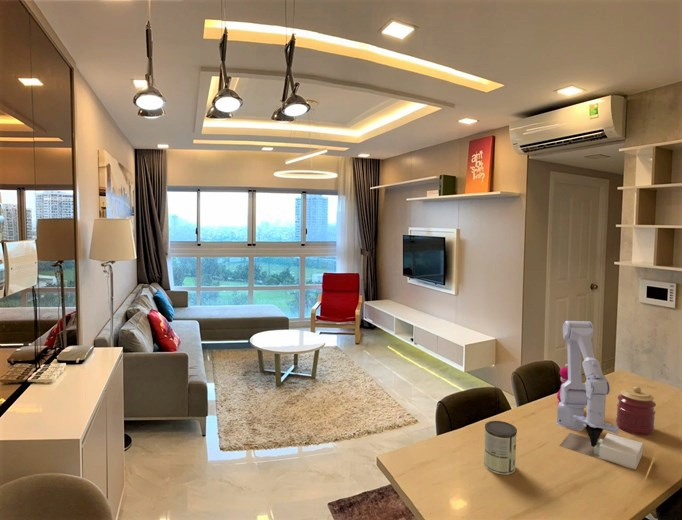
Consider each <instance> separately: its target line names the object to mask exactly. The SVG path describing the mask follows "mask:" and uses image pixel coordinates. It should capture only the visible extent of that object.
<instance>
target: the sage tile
mask: <svg viewBox="0 0 682 520" xmlns="http://www.w3.org/2000/svg"><path fill="white" fill-rule="evenodd" d="M603 439H604V438H599V439H598V443H597V444H596V445H595V447H594V454H597V455H599V448H600V444H601V443H602V441H603Z"/></svg>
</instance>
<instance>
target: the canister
mask: <svg viewBox="0 0 682 520" xmlns="http://www.w3.org/2000/svg"><path fill="white" fill-rule="evenodd" d="M619 393H620V394H618V396H617V399H618V403H617V404H616V407H617V408H616V409H617V411H616V418H615V423H616V427H619V429H621V430H623V431H624V432H627V433H630V434H633V435H637V436H651V435H653V434H654V431H655V418H656V417H655V415H656V410H655V407H656V406H657V403H656V401H654V400H655V397H654V396H653V395H652V394H650V393H649V392H648V391H645V390H643V389H641V387H640V386H638V385H637V386H634V387H632V388H630V387H628V388H624V389H622V390H620V391H619Z"/></svg>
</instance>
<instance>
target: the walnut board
mask: <svg viewBox="0 0 682 520" xmlns="http://www.w3.org/2000/svg"><path fill="white" fill-rule="evenodd" d="M598 441H599V440H598ZM598 441H597V443H598ZM558 446H559V447H561V448H564V449H567V450H571V451H574V452H577V453H580V454H583V455H586V456H588V457H592V458H595V459H598V460H600V461H604V462H607V463H610V464H613V465H616V466H620V467H621V468H624V469H625V468H626V469H629V470H632V471H634V472H635V471H636V470H635V469H632V468H629V467H626V466H623V465H620V464H617V463H614V462H611V461H607V460H604V459H601V458H599V455H597V454H594V447H593V446H591V441H590V438H589V437H586V436H583V435H581V434H576V433H573V432H569V433H568V434H567V435H566V436H565V438H564V439H563V440H562V441H561V443H560V444H559V445H558ZM642 456H643V453H642ZM639 463H640V462H639ZM639 463H638V465H639Z"/></svg>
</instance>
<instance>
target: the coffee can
mask: <svg viewBox="0 0 682 520" xmlns="http://www.w3.org/2000/svg"><path fill="white" fill-rule="evenodd" d="M484 429H485V430H484V457H483V458H484V459H483V460H484V462H483V465H484V467H485V468H486V470H488V471H489V472H490V473H493V474H497V475H502V476H507V475H512V474H513V473H515V471H516V459H517V457H516V456H517V452H516V451H517V433H518V428H517V427H516V426H515V425H513V424H512V423H509V422H505V421H502V420H491V421H488V422H486V423H484Z"/></svg>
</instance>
